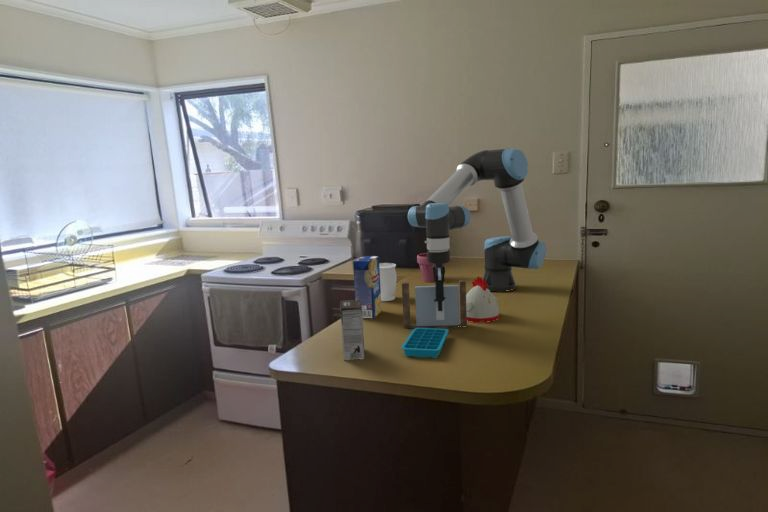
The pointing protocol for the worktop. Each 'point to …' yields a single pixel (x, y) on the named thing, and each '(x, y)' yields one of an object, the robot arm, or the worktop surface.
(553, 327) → the worktop surface
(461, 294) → the door frame
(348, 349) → the coffee box
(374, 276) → the blue cardboard box
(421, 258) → the plant pot
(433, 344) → the ice cube tray
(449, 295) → the door
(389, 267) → the jar
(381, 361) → the worktop surface
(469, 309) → the kitchen timer
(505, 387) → the worktop surface
